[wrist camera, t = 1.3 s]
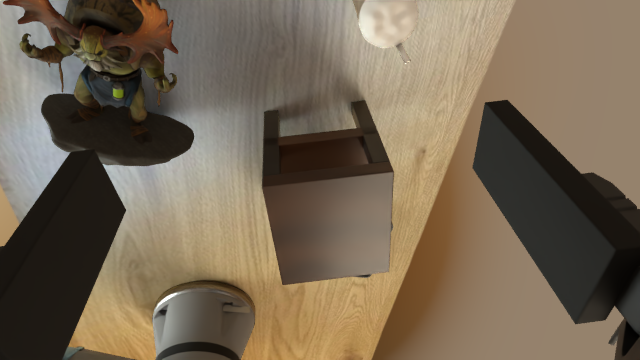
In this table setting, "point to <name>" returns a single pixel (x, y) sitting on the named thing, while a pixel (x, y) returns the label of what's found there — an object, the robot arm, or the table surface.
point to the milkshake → (387, 22)
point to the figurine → (109, 79)
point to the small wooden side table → (328, 200)
